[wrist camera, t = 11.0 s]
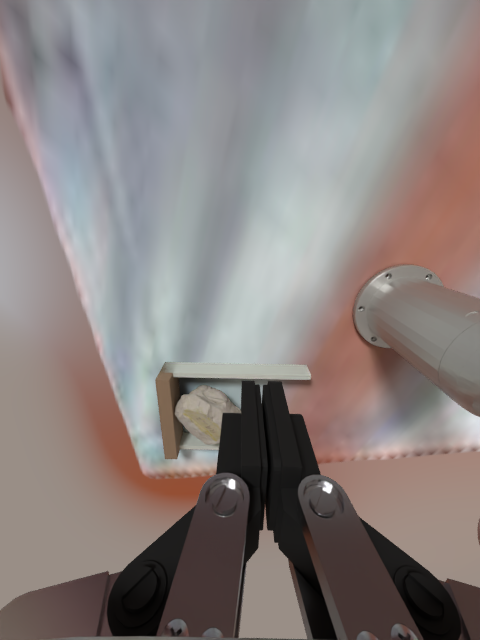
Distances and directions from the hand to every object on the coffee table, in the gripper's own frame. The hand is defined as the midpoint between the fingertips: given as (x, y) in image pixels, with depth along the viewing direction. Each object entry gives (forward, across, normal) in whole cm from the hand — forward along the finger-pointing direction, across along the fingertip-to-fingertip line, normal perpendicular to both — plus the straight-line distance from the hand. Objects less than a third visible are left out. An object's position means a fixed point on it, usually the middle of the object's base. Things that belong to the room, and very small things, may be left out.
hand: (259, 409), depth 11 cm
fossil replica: (+27, +5, +22) cm, 36 cm away
